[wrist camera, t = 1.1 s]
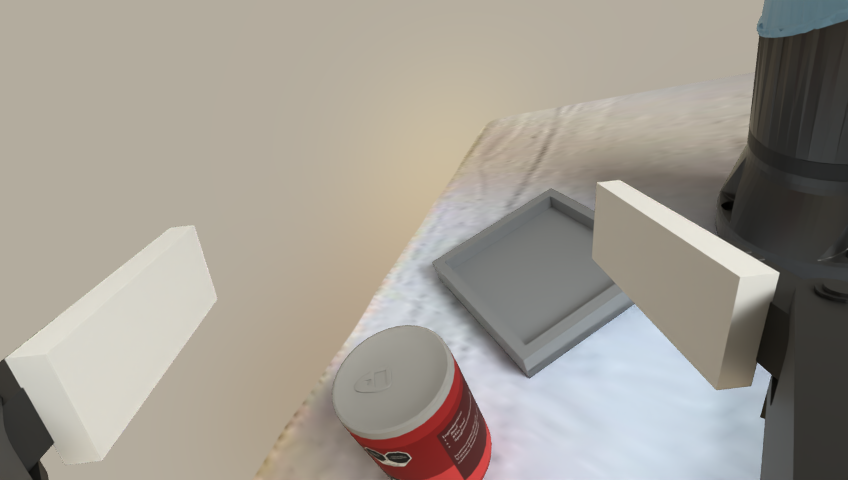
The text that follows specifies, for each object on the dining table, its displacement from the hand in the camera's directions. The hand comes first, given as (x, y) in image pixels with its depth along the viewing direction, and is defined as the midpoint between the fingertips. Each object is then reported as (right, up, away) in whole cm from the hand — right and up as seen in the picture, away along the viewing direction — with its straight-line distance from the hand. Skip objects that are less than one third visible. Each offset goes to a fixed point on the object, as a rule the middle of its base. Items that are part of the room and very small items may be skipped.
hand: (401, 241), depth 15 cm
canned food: (+2, -16, +19) cm, 26 cm away
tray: (+13, -4, +29) cm, 32 cm away
